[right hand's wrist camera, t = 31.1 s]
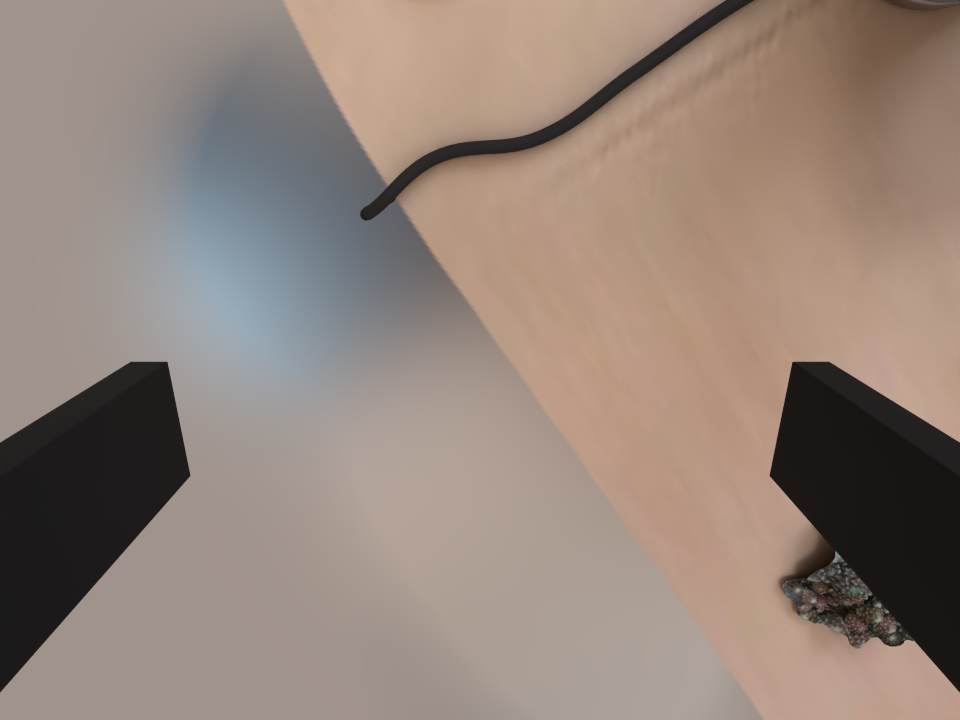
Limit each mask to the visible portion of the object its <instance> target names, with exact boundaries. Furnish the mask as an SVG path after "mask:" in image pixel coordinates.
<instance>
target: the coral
mask: <svg viewBox="0 0 960 720" xmlns="http://www.w3.org/2000/svg"><path fill="white" fill-rule="evenodd" d="M808 577H809V578H807V579H804V578H802V579H793V580H789V581H786V582H785V583H784V584H783V586H782V588H783V589H784V592H785V594H786V595H787V597H789V598H791V599H792V600H794V601H796V602H797V603H798V604H797V613H798V615H799V616H801V617H802V618H804V619H806V620H809V621H812V622H813V623H821V624H826V625H827V626H828V627H829V628H831V629H832V630H834V631H837V632H839V633H840V634H843V635H845V636H847V637H848V640H849V643H850V644H851V645H852V646H853V647H854V648H861V647H862V646H863V645H864V644H865V643H866V642H867V641H868V640H869V639H870V638H872V637H878V638H879V639H881V641H882V642H883V643H884V644H886V645H888V646H899V645H902V644H903V643H904V641H905V640H911V641H914V640H913V638H912V637H911V636H910V635H909V634H908V633H907V632H906V631H905V629H904V628H903V627H902V626H901V625H900V624H899V623H898V621H897V620H896V619H895V618H894V617H893V616H892V615H891V613H890V612H889V611H888V610H887V609H886V608H885V607H884V605H883V604H882V603H881V602H880V601H879V600H878V599H877V597H876V596H875V595H874V594H873V593H872V592H871V591H870V590H869V588H868V587H867V586H866V585H865V584H864V583H863V582H862V580H861V579H860V578H859V577H858V576H857V575H856V574H855V572H854V571H853V570H852V569H851V568H850V567H849V566H848V564H847V563H846V562H845V561H844V560H843V559H842V558H841V556H840V555H839V554H838V553H837V552H835V559H834V560H833V561H832V562H831V564H830V565H827V566H826V567H824V568H822V569H820V570H817V571H816V572H814V573H813V574H812V575H810V576H808Z"/></svg>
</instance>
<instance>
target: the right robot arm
mask: <svg viewBox="0 0 960 720" xmlns="http://www.w3.org/2000/svg"><path fill="white" fill-rule="evenodd" d="M752 1H753V0H726V1H724V2H723V3H721V4H720V5H718V6H717V7H715V8H714V9H712V10H711V11H709V12H708V13H706V14H705V15H703V16H702V17H700V18H699V19H698V20H696V21H695V22H693V23H692V24H690V25H689V26H688V27H686V28H685V29H683V30H682V31H681V32H679V33H678V34H676V35H675V36H674V37H672V38H671V39H670V40H668V41H667V42H665V43H664V44H663V45H661V46H660V47H659V48H657V49H656V50H654V51H653V52H652V53H650V54H649V55H647V56H646V57H645V58H643V59H642V60H640V61H639V62H638V63H636V64H635V65H633V66H632V67H630V68H629V69H628V70H626V71H625V72H623V73H622V74H621V75H619V76H618V77H617V78H615V79H614V80H613V81H612V82H610V83H609V84H608V85H606V86H605V87H604V88H603V89H601V90H600V91H599V92H598V93H596V94H595V95H594V96H593V97H592V98H590V99H589V100H588V101H586V102H585V103H584V104H583V105H581V106H580V107H579V108H577V109H576V110H575V111H573V112H572V113H570V114H569V115H567V116H566V117H564V118H563V119H561V120H559V121H557V122H556V123H554V124H552V125H550V126H548V127H546V128H544V129H542V130H539V131H537V132H534V133H532V134H529V135H525V136H521V137H517V138H511V139H503V140H487V141H473V142H464V143H458V144H453V145H449V146H446V147H443V148H440V149H438V150H435V151H433V152H431V153H429V154H427V155H425V156H423V157H422V158H420V159H418V160H417V161H416V162H414V163H413V164H411V165H410V166H409V167H408V168H407V169H405V170H404V171H403V172H402V173H401V174H400V175H399V176H398V177H397V178H396V179H395V180H394V181H393V182H392V183H391V184H390V185H389V186H388V187H387V188H386V189H385V190H384V192H383V193H382V194H381V195H380V196H379V197H378V198H377V199H375V200H374V201H373V202H372V203H371V204H370V205H368V206H366V207H364V208H363V209H362V210H361V211H360V216H361V218H362V219H363V220H365V221H367V220H371V219H372V218H374V217H375V216H376V215H378V214H379V213H380V212H381V211H383V210H384V209H385V208H386V207H387V206H388V205H389V204H391V203H392V202H394V201H395V199H396V197H397V196H398V195H399V194H400V193H401V192H402V191H403V190H404V188H405V187H407V186H408V185H409V184H410V183H411V182H412V181H413V180H414V179H415V178H416V177H418V176H419V175H420V174H421V173H423V172H424V171H426V170H427V169H429V168H431V167H432V166H434V165H436V164H439V163H441V162H443V161H446V160H449V159H452V158H457V157H461V156H468V155H479V154H496V153H508V152H515V151H520V150H525V149H529V148H532V147H535V146H538V145H541V144H543V143H545V142H548V141H550V140H552V139H554V138H556V137H558V136H560V135H562V134H563V133H565V132H567V131H569V130H570V129H572V128H573V127H575V126H576V125H578V124H579V123H581V122H582V121H584V120H585V119H586V118H588V117H589V116H590V115H592V114H593V113H594V112H596V111H597V110H598V109H599V108H601V107H602V106H603V105H604V104H606V103H607V102H608V101H609V100H611V99H612V98H613V97H614V96H616V95H617V94H618V93H620V92H621V91H622V90H623V89H625V88H626V87H627V86H629V85H630V84H632V83H633V82H634V81H636V80H637V79H639V78H640V77H642V76H643V75H644V74H646V73H647V72H649V71H650V70H652V69H653V68H654V67H656V66H657V65H659V64H660V63H661V62H663V61H664V60H666V59H667V58H668V57H670V56H671V55H673V54H674V53H675V52H677V51H678V50H680V49H681V48H682V47H684V46H685V45H686V44H688V43H689V42H691V41H692V40H694V39H695V38H696V37H698V36H699V35H701V34H702V33H703V32H705V31H706V30H708V29H709V28H711V27H712V26H714V25H715V24H717V23H718V22H720V21H721V20H723V19H724V18H726V17H727V16H729V15H731V14H732V13H734V12H735V11H737V10H738V9H740V8H742V7H743V6H745V5H747V4H748V3H750V2H752ZM886 1H888V2H890V3H892V4H895V5H898V6H901V7H905V8H910V9H920V10H928V9H939V8H945V7H949V6H953V5H957V4H960V0H886ZM189 477H190V471H189V467H188V462H187V457H186V452H185V447H184V442H183V437H182V432H181V427H180V422H179V417H178V412H177V407H176V402H175V397H174V392H173V387H172V382H171V378H170V372H169V367H168V363H167V362H130V363H128V364H127V365H125V366H123V367H122V368H120V369H119V370H117V371H115V372H114V373H112V374H110V375H109V376H107V377H106V378H104V379H102V380H101V381H99V382H98V383H96V384H94V385H93V386H91V387H89V388H88V389H86V390H85V391H83V392H81V393H80V394H78V395H76V396H75V397H73V398H72V399H70V400H68V401H67V402H65V403H64V404H62V405H60V406H59V407H57V408H56V409H54V410H52V411H51V412H49V413H47V414H46V415H44V416H43V417H41V418H39V419H38V420H36V421H34V422H33V423H31V424H30V425H28V426H26V427H25V428H23V429H22V430H20V431H18V432H17V433H15V434H13V435H12V436H10V437H9V438H7V439H5V440H4V441H2V442H0V692H1V691H2V690H3V689H4V687H5V686H6V685H7V684H8V683H9V682H10V681H11V679H12V678H13V677H14V676H15V675H16V674H17V673H18V672H19V670H20V669H21V668H22V667H23V666H24V665H25V664H26V662H27V661H28V660H29V659H30V658H31V657H32V656H33V654H34V653H35V652H36V651H37V650H38V649H39V648H40V646H41V645H42V644H43V643H44V642H45V641H46V640H47V638H48V637H49V636H50V635H51V634H52V633H53V632H54V630H55V629H56V628H57V627H58V626H59V625H60V624H61V623H62V621H63V620H64V619H65V618H66V617H67V616H68V615H69V613H70V612H71V611H72V610H73V609H74V608H75V607H76V605H77V604H78V603H79V602H80V601H81V600H82V599H83V597H84V596H85V595H86V594H87V593H88V592H89V591H90V589H91V588H92V587H93V586H94V585H95V584H96V583H97V581H98V580H99V579H100V578H101V577H102V576H103V575H104V574H105V572H106V571H107V570H108V569H109V568H110V567H111V566H112V564H113V563H114V562H115V561H116V560H117V559H118V558H119V556H120V555H121V554H122V553H123V552H124V551H125V550H126V548H127V547H128V546H129V545H130V544H131V543H132V542H133V540H134V539H135V538H136V537H137V536H138V535H139V534H140V532H141V531H142V530H143V529H144V528H145V527H146V526H147V525H148V523H149V522H150V521H151V520H152V519H153V518H154V517H155V515H156V514H157V513H158V512H159V511H160V510H161V509H162V508H163V506H164V505H165V504H166V503H167V502H168V501H169V500H170V498H171V497H172V496H173V495H174V494H175V493H176V492H177V490H178V489H179V488H180V487H181V486H182V485H183V484H184V482H185V481H186V480H187V479H188V478H189ZM770 477H771V478H772V479H773V480H774V481H775V482H776V484H777V485H778V486H779V487H780V488H781V489H782V490H783V492H784V493H785V494H786V495H787V496H788V497H789V498H790V500H791V501H792V502H793V503H794V504H795V505H796V506H797V508H798V509H799V510H800V511H801V512H802V513H803V514H804V515H805V517H806V518H807V519H808V520H809V521H810V522H811V523H812V525H813V526H814V527H815V528H816V529H817V530H818V531H819V533H820V534H821V535H822V536H823V537H824V538H825V539H826V541H827V542H828V543H829V544H830V545H831V546H832V547H833V549H834V550H835V551H836V552H837V553H838V554H839V555H840V556H841V558H842V559H843V560H844V561H845V562H846V563H847V564H848V566H849V567H850V568H851V569H852V570H853V571H854V572H855V574H856V575H857V576H858V577H859V578H860V579H861V580H862V582H863V583H864V584H865V585H866V586H867V587H868V588H869V590H870V591H871V592H872V593H873V594H874V595H875V596H876V597H877V599H878V600H879V601H880V602H881V603H882V604H883V605H884V607H885V608H886V609H887V610H888V611H889V612H890V613H891V615H892V616H893V617H894V618H895V619H896V620H897V621H898V623H899V624H900V625H901V626H902V627H903V628H904V629H905V631H906V632H907V633H908V634H909V635H910V636H911V637H912V638H913V640H914V641H915V642H916V643H917V644H918V645H919V646H920V648H921V649H922V650H923V651H924V652H925V653H926V654H927V656H928V657H929V658H930V659H931V660H932V661H933V662H934V664H935V665H936V666H937V667H938V668H939V669H940V670H941V672H942V673H943V674H944V675H945V676H946V677H947V678H948V679H949V681H950V682H951V683H952V684H953V685H954V686H955V687H956V689H957V690H958V691H959V692H960V442H958V441H956V440H955V439H953V438H951V437H950V436H948V435H947V434H945V433H943V432H942V431H940V430H938V429H937V428H935V427H934V426H932V425H930V424H929V423H927V422H926V421H924V420H922V419H921V418H919V417H917V416H916V415H914V414H913V413H911V412H909V411H908V410H906V409H905V408H903V407H901V406H900V405H898V404H896V403H895V402H893V401H892V400H890V399H888V398H887V397H885V396H884V395H882V394H880V393H879V392H877V391H875V390H874V389H872V388H871V387H869V386H867V385H866V384H864V383H862V382H861V381H859V380H858V379H856V378H854V377H853V376H851V375H850V374H848V373H846V372H845V371H843V370H841V369H840V368H838V367H837V366H835V365H833V364H832V363H830V362H793V363H792V367H791V372H790V377H789V382H788V387H787V392H786V397H785V402H784V407H783V412H782V417H781V422H780V427H779V432H778V437H777V442H776V447H775V452H774V457H773V462H772V467H771V471H770Z"/></svg>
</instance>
